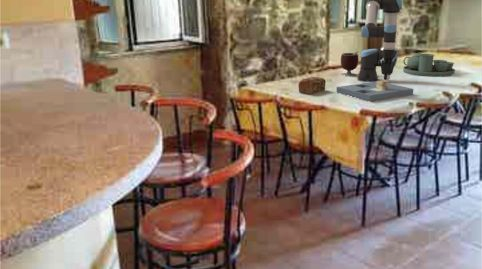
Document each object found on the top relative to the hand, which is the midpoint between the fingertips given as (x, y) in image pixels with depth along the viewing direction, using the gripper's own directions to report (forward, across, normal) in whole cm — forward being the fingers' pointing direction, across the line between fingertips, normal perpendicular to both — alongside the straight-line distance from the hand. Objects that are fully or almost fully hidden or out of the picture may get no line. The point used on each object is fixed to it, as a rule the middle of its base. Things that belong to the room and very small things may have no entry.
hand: (386, 84), depth 316 cm
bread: (+7, +35, -34) cm, 49 cm away
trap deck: (+7, +5, -5) cm, 10 cm away
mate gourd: (+7, -28, -68) cm, 74 cm away
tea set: (+7, -90, -43) cm, 100 cm away
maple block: (+3, +3, 0) cm, 4 cm away
